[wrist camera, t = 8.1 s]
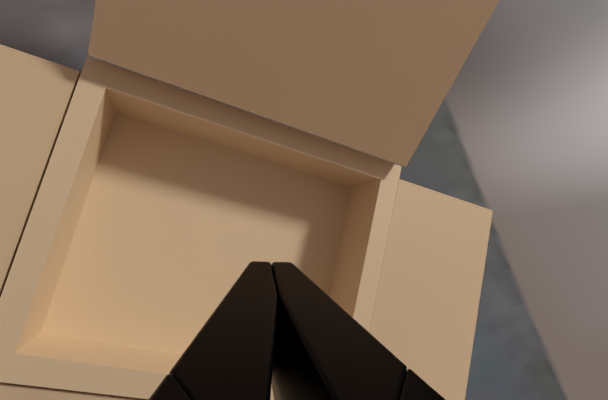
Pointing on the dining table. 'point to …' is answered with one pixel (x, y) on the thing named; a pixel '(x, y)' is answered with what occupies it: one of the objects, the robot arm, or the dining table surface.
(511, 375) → the dining table surface
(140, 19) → the flap
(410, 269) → the carton
